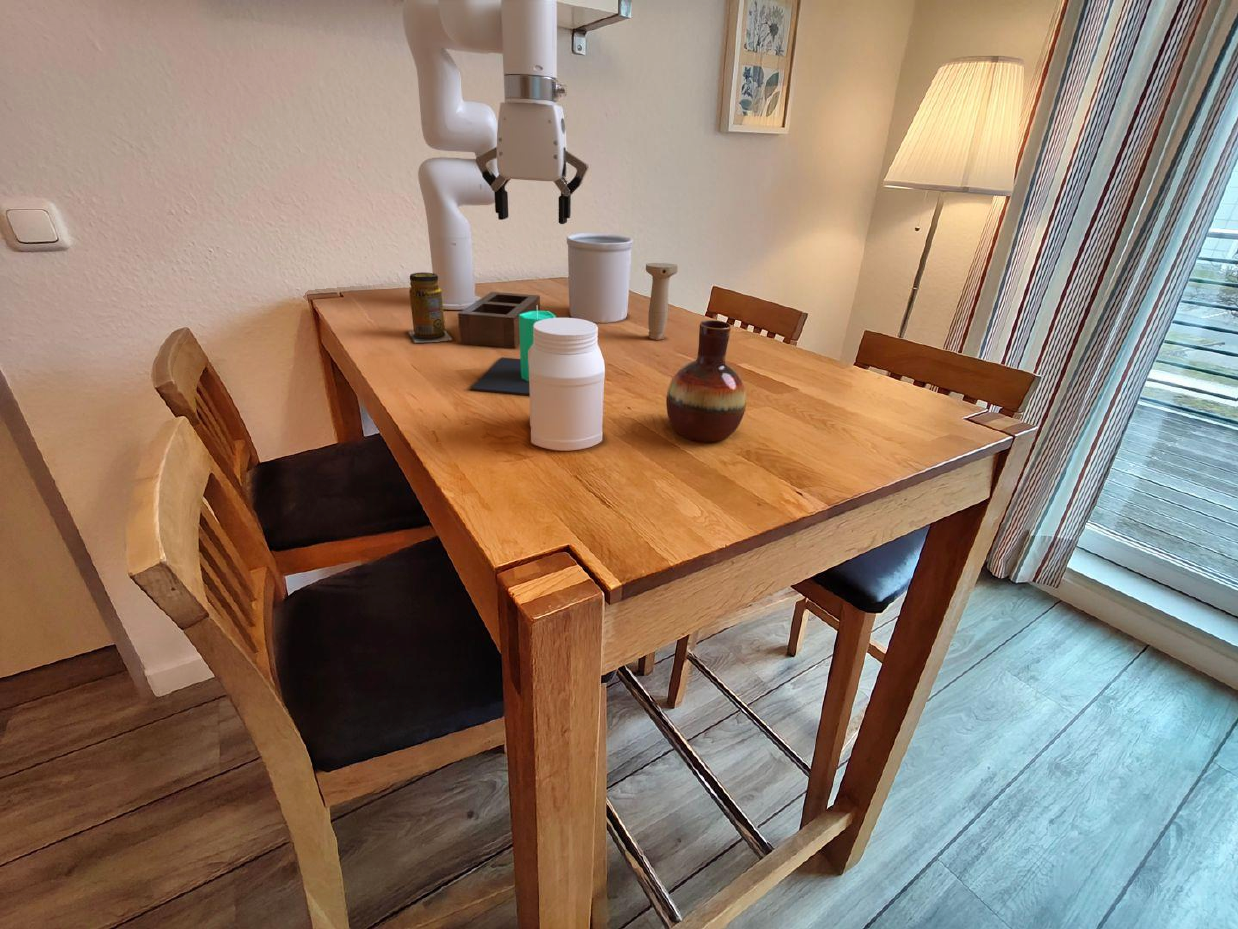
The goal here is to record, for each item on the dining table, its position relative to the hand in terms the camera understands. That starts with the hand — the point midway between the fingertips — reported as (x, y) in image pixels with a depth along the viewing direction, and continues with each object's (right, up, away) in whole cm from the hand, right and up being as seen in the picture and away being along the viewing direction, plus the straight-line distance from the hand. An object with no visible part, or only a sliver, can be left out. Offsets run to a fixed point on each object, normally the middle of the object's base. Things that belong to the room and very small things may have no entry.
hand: (533, 220), depth 92 cm
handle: (+21, -12, +32) cm, 40 cm away
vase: (+26, -34, -8) cm, 43 cm away
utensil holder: (+9, -3, +47) cm, 48 cm away
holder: (-11, -11, +31) cm, 34 cm away
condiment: (-25, -13, +26) cm, 38 cm away
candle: (0, -24, +7) cm, 25 cm away
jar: (+6, -34, -11) cm, 36 cm away
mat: (0, -24, +7) cm, 25 cm away
